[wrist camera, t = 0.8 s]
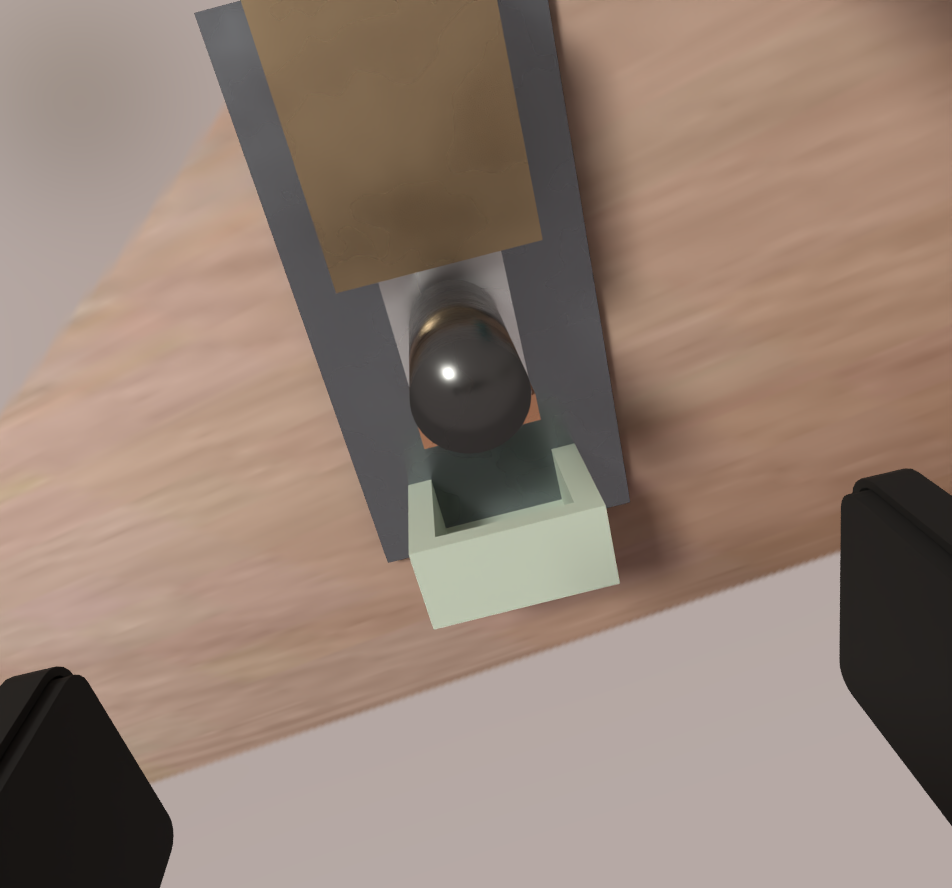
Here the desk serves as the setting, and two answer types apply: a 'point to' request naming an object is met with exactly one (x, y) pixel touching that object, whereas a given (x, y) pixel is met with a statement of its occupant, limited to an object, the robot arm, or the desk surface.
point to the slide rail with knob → (423, 222)
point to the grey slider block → (461, 354)
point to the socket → (512, 549)
